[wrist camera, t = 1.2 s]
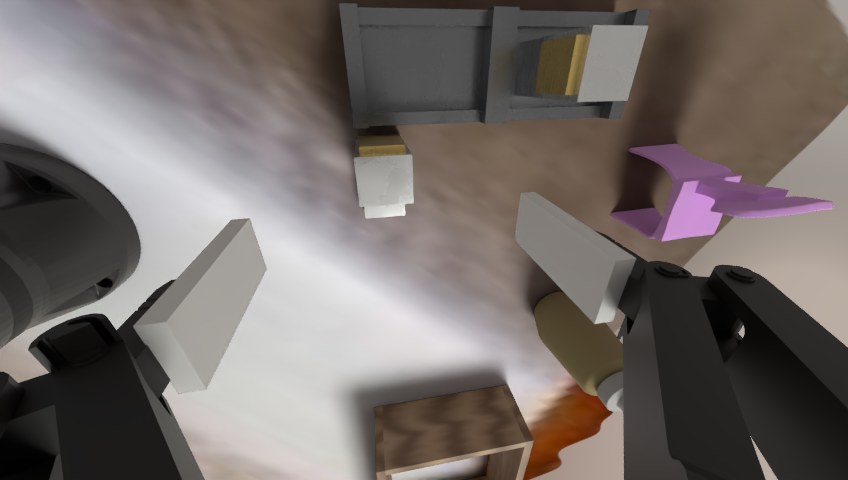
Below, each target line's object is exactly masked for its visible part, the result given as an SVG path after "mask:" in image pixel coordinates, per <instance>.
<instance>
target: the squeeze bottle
mask: <svg viewBox="0 0 848 480" xmlns="http://www.w3.org/2000/svg"><path fill="white" fill-rule="evenodd" d="M534 317H535V321H536V325H537V329H538V333H539V336H540V338H541V340H542V342H543V343H544V344H545V345H546V347H547V348H548V349H549V350H550V351H551V352H552V354H553V355H554V356H555V357H556V358H557V360H558V361H559V362H560V363H561V364H562V365H563V367H564V368H565V369H566V370H567V371H568V373H569V374H570V375H571V376H572V377H573V379H574V380H575V381H576V382H577V383H578V384H579V386H580V387H581V388H582V389H583V390H584V392H586V393H588V394H590V395H595V396H598V397H599V398H600V400H601V401H602V402H603V404H604V405H605V406H606V408H607V409H608V410H610V411H613V412H620V411H623V344H622V343H621V342H620V340H619V339H617V337H616V335H615V334H614V333H613V332H612V330H611V329H610V328H609V327H608V325H607V324H606V323H599V324H594V323H593V322H592V321H591V320H590V319H589V318H588V317H587V316H586V315H585V314H584V313H583V312H582V311H581V309H580V308H579V307H578V306H577V305H576V304H575V303H574V302H573V301H572V300H571V299H570V298H569V297H568V296H567V295H566V294H565V293H564V292H559V291H558V292H554V293H550V294H549V295H547V296H545V297H543V298H542V299H541V300H540V301H539V302H538V303H537V305H536V307H535V309H534Z"/></svg>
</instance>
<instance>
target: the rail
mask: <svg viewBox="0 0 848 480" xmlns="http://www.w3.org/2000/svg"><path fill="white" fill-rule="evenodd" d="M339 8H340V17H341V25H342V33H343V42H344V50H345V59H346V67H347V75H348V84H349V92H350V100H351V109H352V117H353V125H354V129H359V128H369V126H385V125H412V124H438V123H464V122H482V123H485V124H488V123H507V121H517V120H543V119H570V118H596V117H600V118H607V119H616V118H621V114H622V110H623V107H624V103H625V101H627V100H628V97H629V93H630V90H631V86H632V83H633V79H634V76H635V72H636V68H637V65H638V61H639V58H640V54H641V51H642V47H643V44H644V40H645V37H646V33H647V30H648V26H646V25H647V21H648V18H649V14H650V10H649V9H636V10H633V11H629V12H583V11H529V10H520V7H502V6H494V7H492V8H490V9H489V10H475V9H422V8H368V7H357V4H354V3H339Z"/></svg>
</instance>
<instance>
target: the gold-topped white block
mask: <svg viewBox="0 0 848 480" xmlns="http://www.w3.org/2000/svg"><path fill="white" fill-rule="evenodd" d="M354 165H355V173H356V181H357V189H358V197H359V205H360V207H364V209H365V217H366V218H378V217H390V216H402V215H405V204H408V203H414V198H413V168H412V154H411V152H410V150H409V149H408V147H407V146H406V144H405V142H404V141H403V139H402V138H401V136H400V134H394V135H371V136H357V139H356V145H355V152H354Z"/></svg>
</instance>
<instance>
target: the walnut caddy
mask: <svg viewBox="0 0 848 480" xmlns="http://www.w3.org/2000/svg"><path fill="white" fill-rule="evenodd" d="M374 414H375V452H376V475H377V480H392V478H391V474H395V473H400V472H405V471H410V470H415V469H419V468H424V467H429V466H434V465H439V464H444V463H449V462H453V461H458V460H463V459H468V458H473V457H478V456H482V455H487V454H489V460H488V466H487V472H486V476H481V477H477V478H472V479H468V480H523V476H524V473H525V469H526V466H527V462H528V459H529V456H530V452H531V449H532V445H533V442H534V440H533V438H532V436H531V433H530V431H529V429H528V427H527V425H526V423H525V421H524V418H523V416H522V414H521V412H520V410H519V408H518V406H517V403H516V401H515V399H514V397H513V395H512V393H511V391H510V388H509V386H508V385H503V386H497V387H491V388H485V389H480V390H474V391H468V392H462V393H457V394H451V395H445V396H439V397H433V398H428V399H422V400H416V401H410V402H404V403H399V404H393V405H387V406H381V407H375V408H374Z"/></svg>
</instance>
